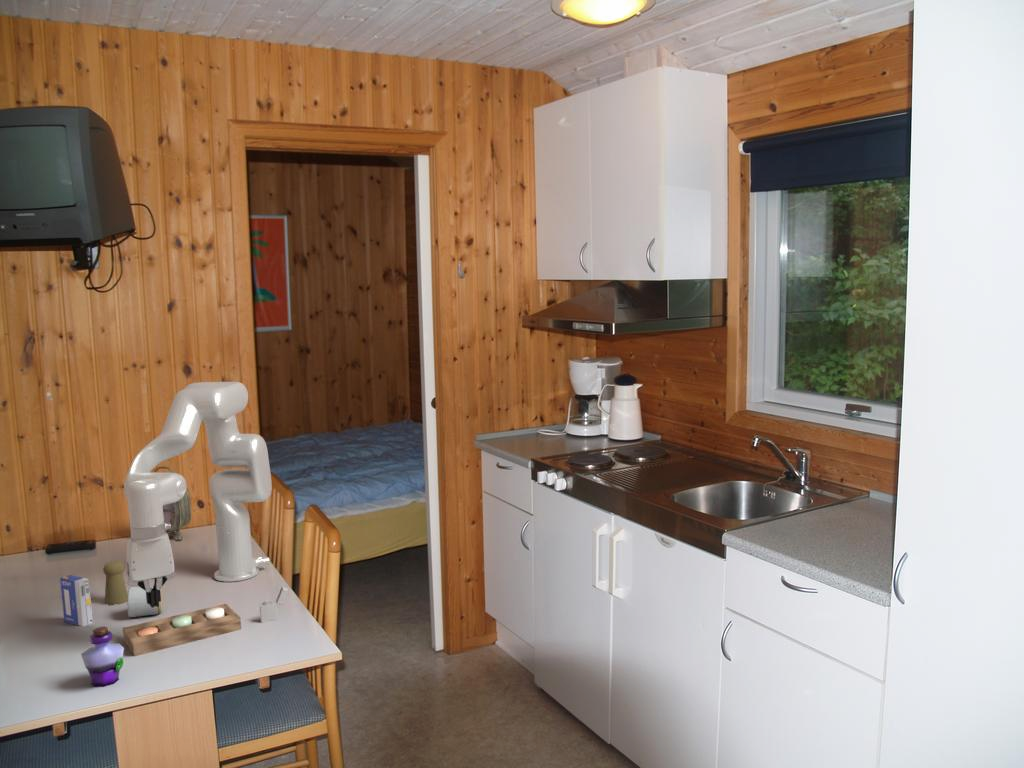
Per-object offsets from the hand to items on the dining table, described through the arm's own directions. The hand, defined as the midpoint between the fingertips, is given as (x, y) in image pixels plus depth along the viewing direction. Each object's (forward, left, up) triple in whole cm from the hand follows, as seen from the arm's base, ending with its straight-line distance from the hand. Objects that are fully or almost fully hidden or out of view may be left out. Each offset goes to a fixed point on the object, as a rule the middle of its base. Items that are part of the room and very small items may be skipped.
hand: (154, 605), depth 213 cm
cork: (+2, -36, -9) cm, 37 cm away
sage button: (-6, 0, -7) cm, 10 cm away
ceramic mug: (-2, -21, -9) cm, 23 cm away
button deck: (-6, 0, -9) cm, 11 cm away
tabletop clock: (-25, -90, -9) cm, 94 cm away
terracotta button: (+2, 0, -8) cm, 9 cm away
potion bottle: (+14, +16, -9) cm, 23 cm away
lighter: (-28, +5, -9) cm, 29 cm away
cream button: (-14, 0, -7) cm, 16 cm away
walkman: (+13, -26, -9) cm, 31 cm away
